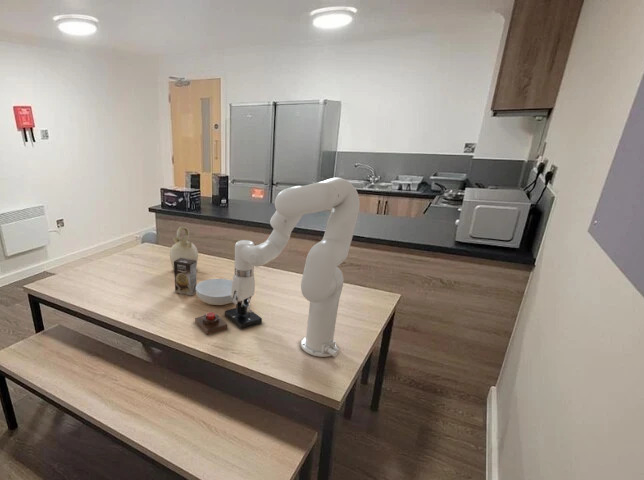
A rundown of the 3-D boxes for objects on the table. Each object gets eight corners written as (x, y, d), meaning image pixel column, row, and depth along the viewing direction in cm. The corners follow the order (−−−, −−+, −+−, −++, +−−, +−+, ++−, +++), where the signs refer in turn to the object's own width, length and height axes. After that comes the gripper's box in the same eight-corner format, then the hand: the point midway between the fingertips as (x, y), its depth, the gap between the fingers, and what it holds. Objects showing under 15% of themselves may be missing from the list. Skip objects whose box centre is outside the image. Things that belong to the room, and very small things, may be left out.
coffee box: (174, 292, 183) (172, 261, 176) (181, 287, 188) (180, 257, 181) (190, 296, 179) (189, 264, 172) (197, 291, 184) (196, 259, 178)
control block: (227, 329, 150) (227, 320, 149) (207, 334, 146) (207, 325, 145) (214, 317, 159) (214, 309, 158) (195, 322, 155) (194, 314, 154)
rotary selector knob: (250, 315, 155) (250, 304, 153) (246, 317, 154) (247, 306, 152) (238, 311, 159) (239, 300, 157) (235, 312, 157) (236, 301, 155)
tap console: (261, 323, 154) (262, 317, 153) (240, 329, 150) (240, 323, 149) (244, 310, 165) (244, 305, 164) (224, 316, 160) (224, 310, 159)
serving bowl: (248, 296, 178) (248, 283, 175) (227, 315, 161) (227, 300, 158) (210, 287, 187) (210, 274, 185) (186, 304, 171) (186, 290, 168)
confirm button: (216, 318, 151) (216, 315, 150) (208, 321, 149) (208, 317, 148) (212, 315, 154) (212, 311, 153) (204, 317, 152) (204, 313, 151)
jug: (166, 268, 213) (164, 225, 203) (192, 263, 218) (190, 221, 209) (176, 277, 200) (173, 231, 190) (202, 272, 206) (201, 228, 196)
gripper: (249, 264, 156) (248, 303, 164) (223, 274, 146) (223, 316, 153) (264, 268, 151) (262, 309, 159) (238, 280, 141) (237, 323, 148)
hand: (243, 312), depth 156 cm, fingers closed on rotary selector knob, 2 cm apart
